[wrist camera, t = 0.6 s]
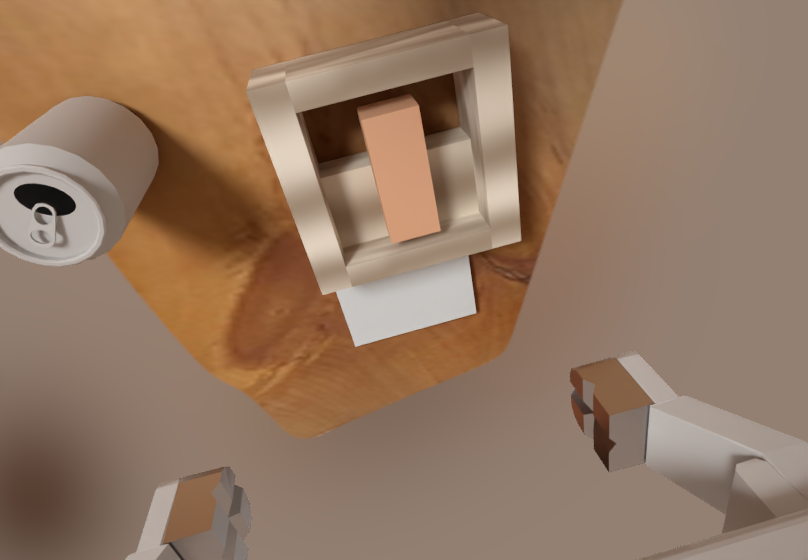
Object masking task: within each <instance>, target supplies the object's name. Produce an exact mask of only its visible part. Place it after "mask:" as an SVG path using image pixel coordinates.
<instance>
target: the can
mask: <svg viewBox="0 0 808 560" xmlns="http://www.w3.org/2000/svg"><path fill="white" fill-rule="evenodd" d="M158 165H159V159H158V148H157V145H156V143H155V140H154V138H153V135H152V133H151V132H150V131H149V129H148V128H147V127H146V125H145V124H144V123H143V122H142V120H141V119H140V118H139V117H137V116H136V115H135V114H133V113H132V112H131V111H129V110H128V109H127V108H125V107H124V106H122V105H119V104H117V103H115V102H112V101H110V100H108V99H104V98H97V97H90V96H83V97H76V98H69V99H67V100H65V101H63V102H62V103H60V104H58V105H56V106H54V107H53V108H52V109H50V110H49V111H48V112H46V113H45V114H44V115H42V116H41V117H40V118H38V119H37V120H36V121H34V122H33V123H31V124H30V125H29V126H27V127H26V128H25V129H23V130H22V131H21V132H19V133H18V134H17V135H15V136H14V137H13V138H11V139H10V140H9V141H7V142H6V143H5V144H3V145H2V146H1V147H0V247H1V248H2V249H4V250H5V251H7V252H9V253H11V254H13V255H15V256H16V257H18V258H20V259H22V260H26V261H29V262H32V263H36V264H39V265H43V266H58V267H63V266H69V265H74V264H79V263H81V262H83V261H85V260H90V259H94V258H96V257H98V256H100V255H102V254H104V253H106V252H108V251H110V250H111V249H112V247H113V246H114V245H115V244H116V243H117V242H118V241H119V240H120V238H121V237H122V235H123V233H124V231H125V229H126V228H127V226H128V224H129V222H130V220H131V219H132V217H133V215H134V213H135V211H136V209H137V208H138V206H139V204H140V202H141V200H142V199H143V197H144V195H145V193H146V191H147V189H148V188H149V186H150V184H151V182H152V180H153V179H154V177H155V174H156V171H157V168H158Z"/></svg>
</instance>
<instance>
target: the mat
mask: <svg viewBox="0 0 808 560" xmlns="http://www.w3.org/2000/svg"><path fill="white" fill-rule="evenodd" d="M336 293H337V296H338V299H339V301H340V304H341V307H342V310H343V313H344V316H345V318H346V321H347V324H348V327H349V330H350V332H351V335H352V338H353V341H354V344H355V347H356V346H360V345H363V344H367V343H371V342H374V341H378V340H381V339H385V338H389V337H392V336H396V335H399V334H403V333H407V332H410V331H414V330H417V329H421V328H425V327H428V326H432V325H435V324H439V323H443V322H446V321H450V320H454V319H457V318H461V317H464V316H468V315H472V314H475V313H476V306H475V299H474V292H473V285H472V278H471V271H470V263H469V256H464V257H460V258H457V259H453V260H449V261H446V262H442V263H438V264H435V265H431V266H427V267H424V268H420V269H416V270H413V271H409V272H405V273H402V274H398V275H394V276H391V277H387V278H383V279H380V280H376V281H372V282H369V283H365V284H361V285H358V286H354V287H350V288H347V289H343V290H339V291H336Z"/></svg>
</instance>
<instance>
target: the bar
mask: <svg viewBox="0 0 808 560" xmlns="http://www.w3.org/2000/svg"><path fill="white" fill-rule="evenodd" d="M356 109H357V113H358V117H359V121H360V125H361V129H362V133H363V137H364V141H365V145H366V149H367V152H368V156H369V160H370V164H371V168H372V172H373V176H374V180H375V184H376V188H377V192H378V196H379V200H380V204H381V208H382V212H383V216H384V220H385V224H386V228H387V231H388V234H389V237H390V240H391V243H392V244H394V243H397V242H401V241H405V240H409V239H412V238H416V237H420V236H423V235H427V234H431V233H434V232H438V231H441V229H440V224H439V218H438V212H437V207H436V201H435V195H434V189H433V184H432V178H431V172H430V166H429V161H428V155H427V149H426V144H425V138H424V132H423V126H422V121H421V115H420V109H419V105H418V104H417V102H416V101H415V99H414V98H413V97H412V95H411V94H406V95H402V96H398V97H395V98H391V99H387V100H383V101H379V102H375V103H371V104H368V105H364V106H360V107H356Z"/></svg>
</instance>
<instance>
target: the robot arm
mask: <svg viewBox="0 0 808 560" xmlns="http://www.w3.org/2000/svg"><path fill="white" fill-rule="evenodd" d="M570 382H571V384H572V385H573V387H574V388H575V390H574V391H573V393H572V394H571V404H572V409H573V413H574V416H575V418H576V421H577V423H578V425H579V427H580V428H581V430H582V431H583V433H584V434H585V435H587V436H589V437H591V438H593V439H594V450H595V452H596V453H597V455H598V456H599V458H600V460H601V461H602V462H603V464H604V466H605V467H606V469H607V470H608V472H613V471H616V470H620V469H624V468H628V467H632V466H635V465H640V464H643V463H646V466H648V467H650V468H651V469H653V470H655V471H656V472H658V473H659V474H661V475H663V476H664V477H666V478H667V479H669V480H671V481H672V482H674V483H675V484H677V485H679V486H680V487H682V488H683V489H685V490H687V491H688V492H690V493H692V494H693V495H695V496H696V497H698V498H700V499H701V500H703V501H705V502H706V503H708V504H709V505H711V506H712V507H714V508H716V509H717V510H719V511H721V512H722V513H724V514H725V515H726V516H725V520H724V525H723V530H722V534H720V535H717V536H713V537H710V538H707V539H703V540H700V541H697V542H693V543H691V544H687V545H684V546H680V547H677V548H673V549H670V550H667V551H664V552H660V553H657V554H654V555H650V556H647V557H643V558H640V559H637V560H808V443H807V442H804V441H802V440H799V439H796V438H794V437H792V436H789V435H786V434H783V433H781V432H779V431H776V430H773V429H771V428H768V427H766V426H763V425H761V424H758V423H755V422H753V421H750V420H748V419H744V418H742V417H740V416H737V415H735V414H732V413H730V412H727V411H724V410H722V409H719V408H717V407H714V406H711V405H708V404H706V403H704V402H701V401H698V400H696V399H693V398H691V397H688V396H682V397H679V396H678V395H677V394H676V393H675V392H674V391H673V390H672V389H671V388H670V387H669V386H668V385H667V384H666V383H665V382H664V381H663V380H662V379H661V377H660V376H659V375H658V374H657V373H656V372H655V371H654V370H653V369H652V368H651V367H650V366H649V365H648V364H647V363H646V362H645V361H644V360H643V359H642V357H641V356H640V355H639V354H638V353H636V352H634V351H631V352H627V353H624V354H620V355H617V356H614V357H612V358H607V359H603V360H600V361H596V362H593V363H589V364H586V365H583V366H579V367H576V368H572V369H571V371H570ZM234 483H235V474H234V473H233V471H232V470H231V468H230V467H222V468H218V469H214V470H210V471H206V472H202V473H198V474H194V475H191V476H186V477H183V478H180V479H176V480H173V481H168V482H164V483H161V484H160V485H159V487H158V488H157V489H156V491H155V494H154V497H153V501H152V504H151V507H150V510H149V513H148V517H147V520H146V523H145V526H144V529H143V532H142V535H141V539H140V542H139V545H138V548H137V552H136V553H133V554H130V555H129V556H128V557H127V558H126V559H125V560H247V556H248V548H247V546H246V545H245V543H244V542H243V540H244V538H245V537H246V536H247V534H248V533H249V531H250V528H251V510H250V503H249V500H248V497H247V494H246V493H245V491H244V489H243V488H241V487H239V486H236V485H234Z"/></svg>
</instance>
